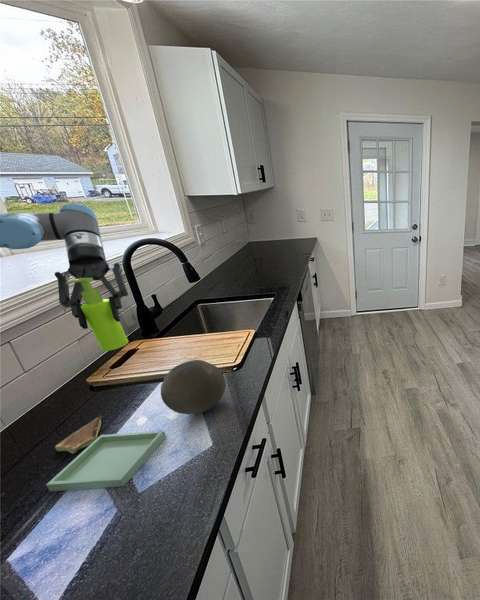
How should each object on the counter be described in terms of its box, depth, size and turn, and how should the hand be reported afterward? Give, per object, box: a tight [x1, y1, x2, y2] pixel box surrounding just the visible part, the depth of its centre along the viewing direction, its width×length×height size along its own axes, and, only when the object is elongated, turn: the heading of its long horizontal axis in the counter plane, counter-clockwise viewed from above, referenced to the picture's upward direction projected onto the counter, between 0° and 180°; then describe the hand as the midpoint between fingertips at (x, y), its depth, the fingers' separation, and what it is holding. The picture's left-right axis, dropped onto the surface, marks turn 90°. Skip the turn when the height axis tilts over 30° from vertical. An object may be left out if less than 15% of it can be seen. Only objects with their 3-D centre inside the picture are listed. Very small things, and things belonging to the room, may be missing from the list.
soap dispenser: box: [66, 278, 130, 352], centre depth 84 cm, size 6×7×20 cm
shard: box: [54, 414, 102, 455], centre depth 80 cm, size 11×8×2 cm
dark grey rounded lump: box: [160, 359, 227, 415], centre depth 85 cm, size 14×14×15 cm
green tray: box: [45, 430, 167, 492], centre depth 72 cm, size 16×14×2 cm
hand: (100, 322), depth 82 cm, fingers closed on soap dispenser, 6 cm apart
